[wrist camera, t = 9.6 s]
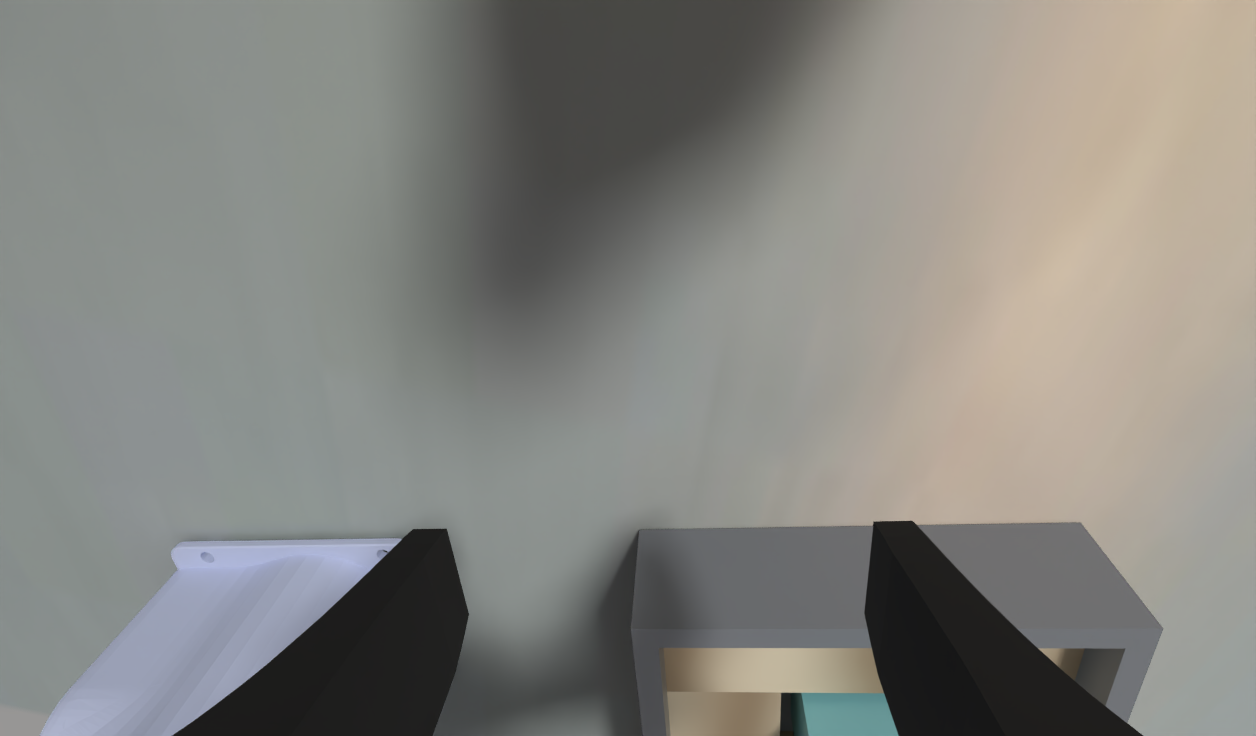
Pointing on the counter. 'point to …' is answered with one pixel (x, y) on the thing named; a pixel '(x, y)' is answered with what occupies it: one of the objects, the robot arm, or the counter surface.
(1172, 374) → the counter surface
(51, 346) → the counter surface
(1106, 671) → the box
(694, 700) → the beige frame
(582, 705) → the counter surface
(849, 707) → the peg
